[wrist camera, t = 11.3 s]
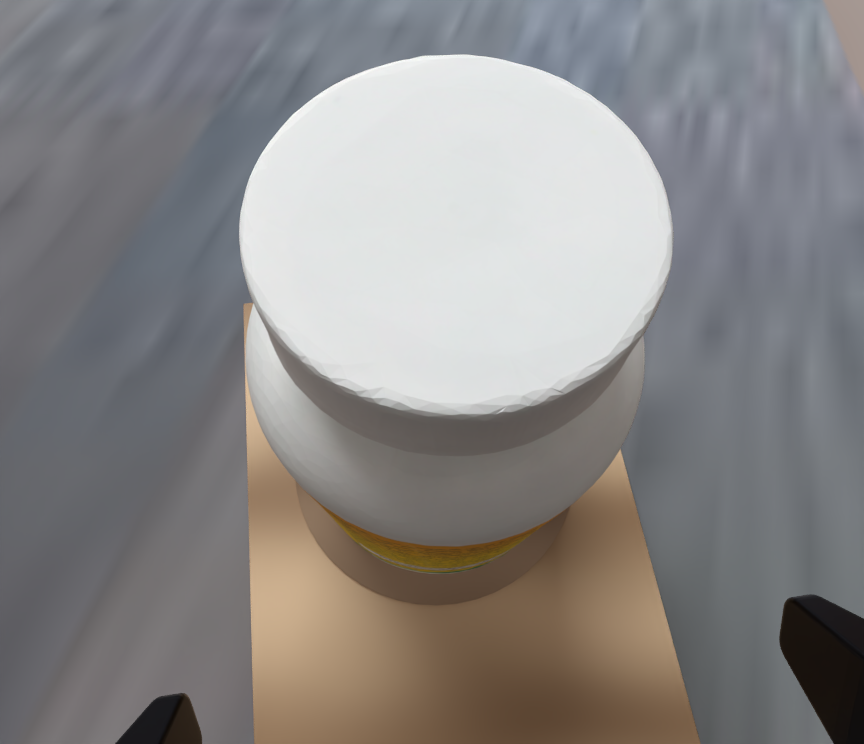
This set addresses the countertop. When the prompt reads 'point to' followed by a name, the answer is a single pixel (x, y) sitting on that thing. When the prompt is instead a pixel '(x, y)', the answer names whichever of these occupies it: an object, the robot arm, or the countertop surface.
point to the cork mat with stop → (457, 630)
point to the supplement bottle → (450, 301)
